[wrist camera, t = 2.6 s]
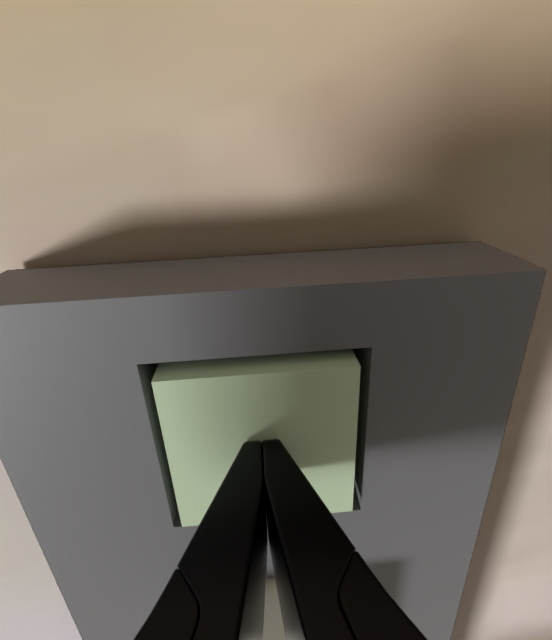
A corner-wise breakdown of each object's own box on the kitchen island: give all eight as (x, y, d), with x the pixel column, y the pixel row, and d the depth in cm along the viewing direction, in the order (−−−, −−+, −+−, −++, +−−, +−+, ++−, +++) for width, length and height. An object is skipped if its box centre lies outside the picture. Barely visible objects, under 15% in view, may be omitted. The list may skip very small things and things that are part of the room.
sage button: (332, 443, 12) (352, 511, 10) (193, 455, 12) (182, 526, 10) (335, 317, 11) (360, 366, 8) (171, 329, 10) (151, 381, 8)
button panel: (399, 687, 20) (419, 758, 18) (162, 715, 19) (150, 791, 17) (479, 241, 10) (546, 269, 8) (7, 270, 10) (-67, 309, 7)
